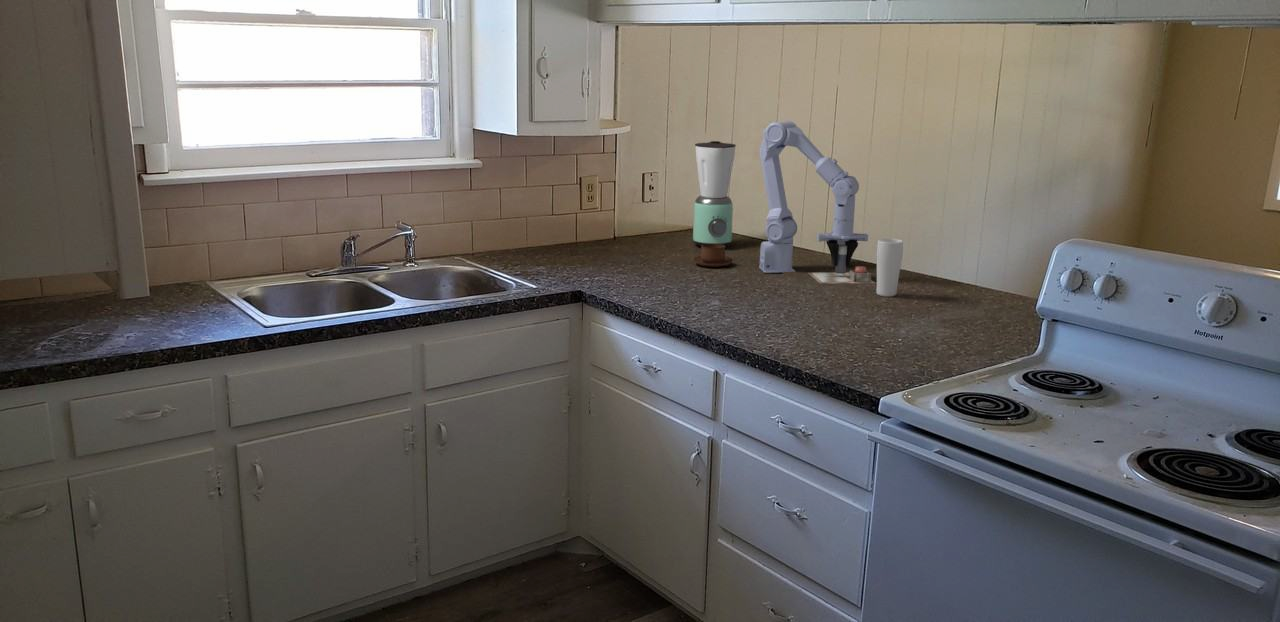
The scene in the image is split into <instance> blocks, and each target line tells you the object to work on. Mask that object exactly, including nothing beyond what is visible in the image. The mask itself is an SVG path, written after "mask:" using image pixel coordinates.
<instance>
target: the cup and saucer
mask: <svg viewBox="0 0 1280 622" xmlns="http://www.w3.org/2000/svg"><path fill="white" fill-rule="evenodd" d="M700 249H701V251H700V252H701V254H700V255H699V256H695V257H693V261H694V263H695V264H696V265H699V266H702V267H707V268H720V267H721V268H722V267H726V266H729V265H731V264H732V263H733V261H734V260H733V258H730V257H728V256H726V249H725V245H722V244H703V245H702V246H700Z"/></svg>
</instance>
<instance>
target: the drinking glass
mask: <svg viewBox="0 0 1280 622" xmlns="http://www.w3.org/2000/svg"><path fill="white" fill-rule="evenodd" d="M903 251H904V241H903V240H902V239H897V238H879V239H877V245H876V289H875V290H876V291H875V292H876V293H875V294H877V295H878V296H880V297H886V298H889V297H890V298H891V297H895V296H896V295H897V293H898V284H899V277H900V271H901V267H902V260H903V259H902V258H903Z"/></svg>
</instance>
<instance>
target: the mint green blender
mask: <svg viewBox="0 0 1280 622" xmlns="http://www.w3.org/2000/svg"><path fill="white" fill-rule="evenodd" d="M694 146H695V161H696V167H697V168H696V169H697V176H698V177H697V178H698V185H699V193H700V195H698V196H697V197H696V199H695V200H694V204H693V224H692V225H693V229H692V243H693V244H695V245H696V246H700V247H701V246H702V245H703V244H722V245H725V248H728V249H729V248H730V245H731V244H732V241H733V211H734V209H733V201H732V199H731V198H730V197H729V196H728V192H729V187H730V182H731V177H732V170H733V166H734V161H735V152H736V147H737V144H734V143H728V142H726V143H725V142H721V141H719V140H718V141H716V140H713V141H712V140H711V141H710V142H709V141H708V142H698V143H695V144H694Z"/></svg>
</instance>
